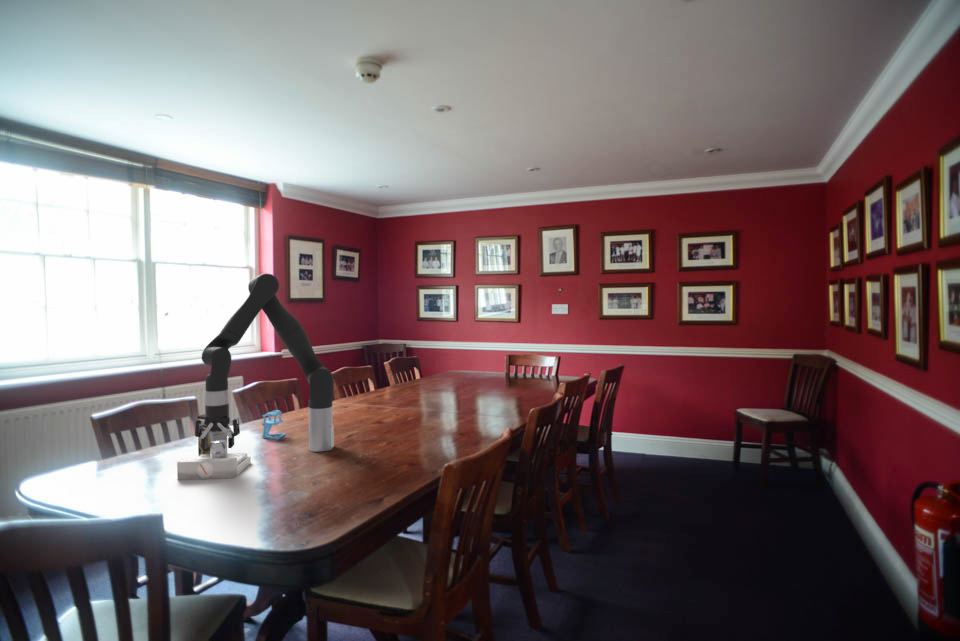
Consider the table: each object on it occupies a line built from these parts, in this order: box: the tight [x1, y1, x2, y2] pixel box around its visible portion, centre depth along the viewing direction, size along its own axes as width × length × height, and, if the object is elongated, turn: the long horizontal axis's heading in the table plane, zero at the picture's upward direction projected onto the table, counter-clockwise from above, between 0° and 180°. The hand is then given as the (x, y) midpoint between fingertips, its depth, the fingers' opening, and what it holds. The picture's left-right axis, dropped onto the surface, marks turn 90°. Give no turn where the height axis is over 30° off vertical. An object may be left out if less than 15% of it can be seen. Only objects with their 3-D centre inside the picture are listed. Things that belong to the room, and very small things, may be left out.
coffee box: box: [197, 414, 228, 457], centre depth 191 cm, size 9×6×16 cm
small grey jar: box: [210, 440, 226, 459], centre depth 177 cm, size 5×5×6 cm
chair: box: [261, 409, 286, 441], centre depth 220 cm, size 8×8×12 cm
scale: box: [176, 455, 252, 481], centre depth 175 cm, size 18×16×6 cm
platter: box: [194, 452, 248, 465], centre depth 177 cm, size 16×11×1 cm
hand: (217, 448), depth 177 cm, fingers open, 8 cm apart
